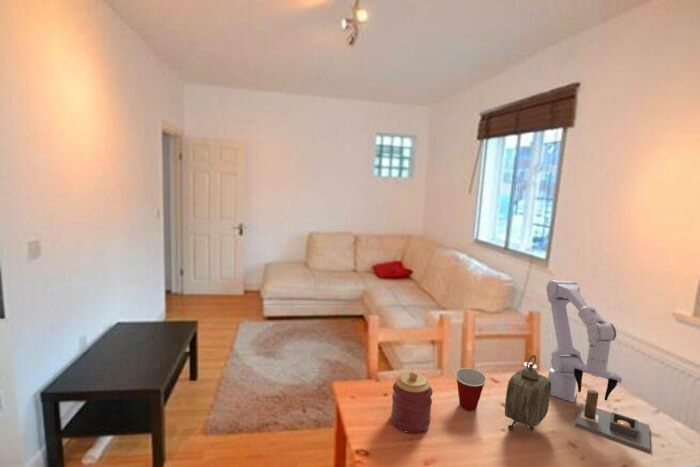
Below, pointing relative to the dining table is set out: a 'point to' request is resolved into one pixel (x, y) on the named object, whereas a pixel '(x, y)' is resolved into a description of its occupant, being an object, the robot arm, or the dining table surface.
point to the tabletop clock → (527, 397)
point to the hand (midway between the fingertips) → (592, 394)
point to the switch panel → (615, 427)
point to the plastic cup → (469, 387)
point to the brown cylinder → (591, 404)
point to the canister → (411, 402)
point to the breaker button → (623, 423)
